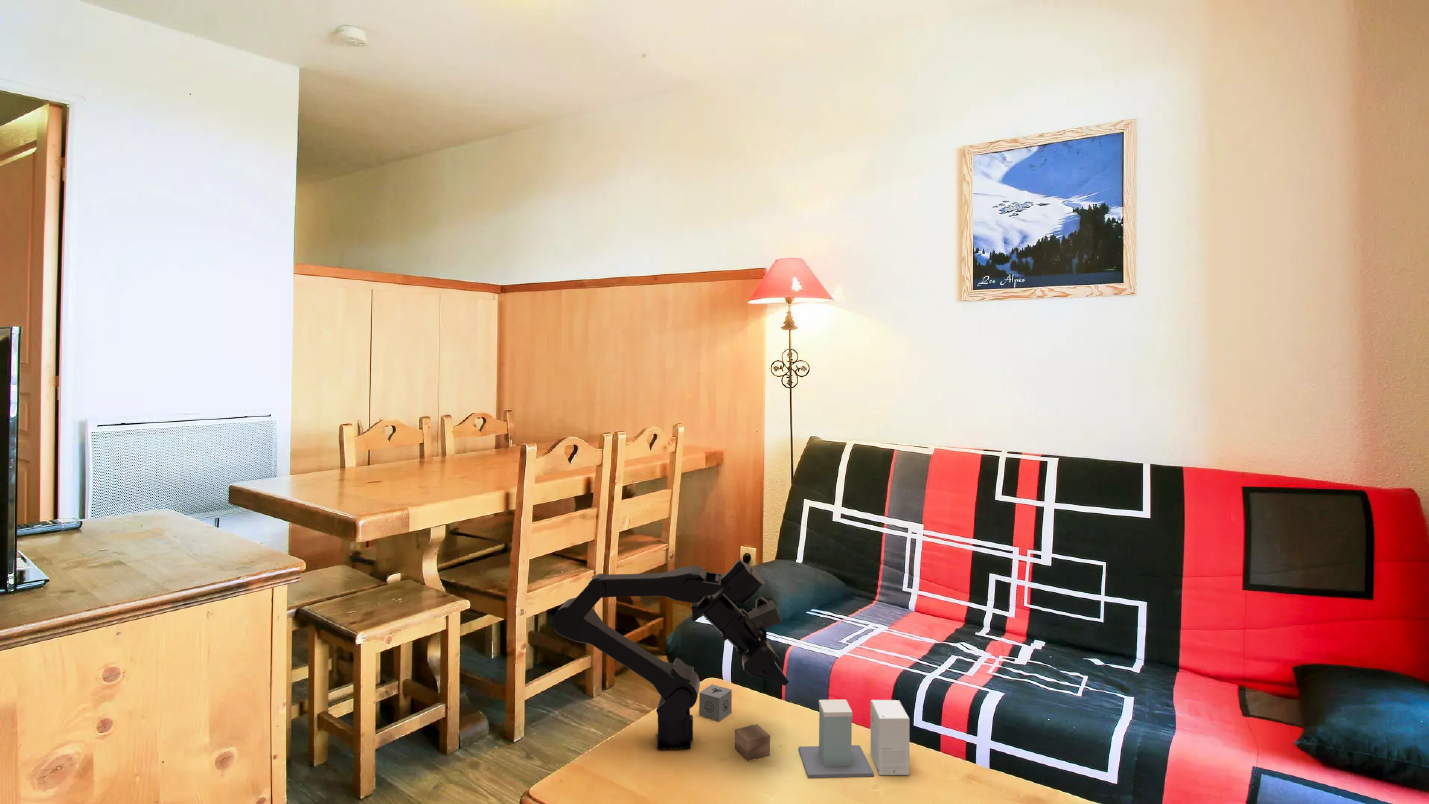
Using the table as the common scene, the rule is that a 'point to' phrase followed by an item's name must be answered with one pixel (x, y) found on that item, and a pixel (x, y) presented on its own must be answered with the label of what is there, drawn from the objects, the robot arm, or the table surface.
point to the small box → (890, 737)
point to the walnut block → (752, 742)
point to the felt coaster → (818, 770)
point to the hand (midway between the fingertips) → (783, 673)
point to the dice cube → (715, 702)
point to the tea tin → (835, 732)
